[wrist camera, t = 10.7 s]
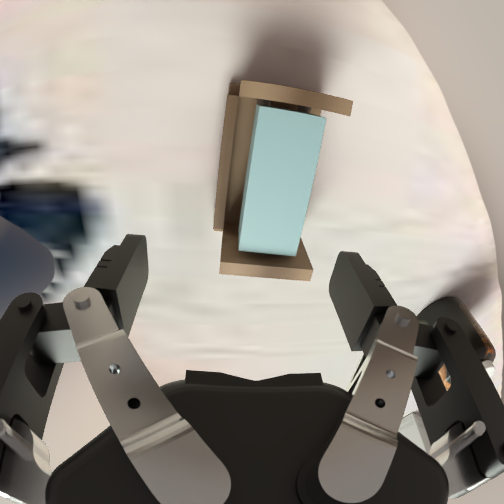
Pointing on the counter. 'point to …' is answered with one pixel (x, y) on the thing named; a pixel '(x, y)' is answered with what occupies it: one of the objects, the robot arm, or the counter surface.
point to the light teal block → (279, 179)
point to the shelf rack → (235, 168)
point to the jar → (469, 325)
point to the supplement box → (415, 431)
